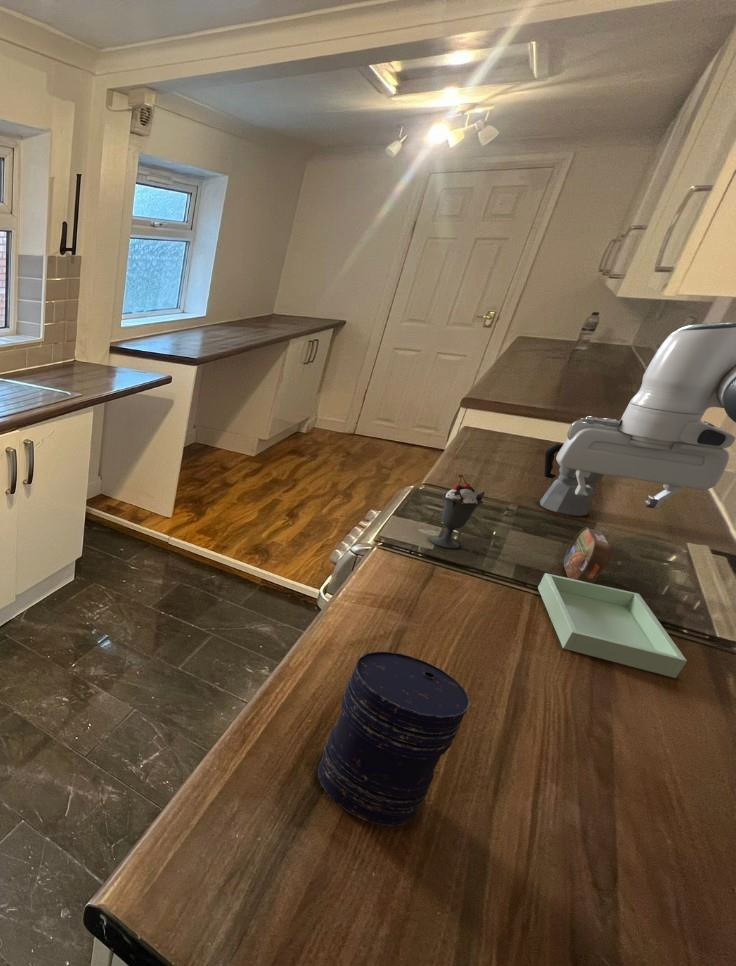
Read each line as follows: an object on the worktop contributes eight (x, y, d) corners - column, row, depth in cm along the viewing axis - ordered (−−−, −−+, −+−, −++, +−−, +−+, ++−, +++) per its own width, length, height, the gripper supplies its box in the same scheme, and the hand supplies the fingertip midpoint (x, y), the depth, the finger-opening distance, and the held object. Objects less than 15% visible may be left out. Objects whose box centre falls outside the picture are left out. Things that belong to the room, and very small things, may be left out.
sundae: (418, 539, 122) (444, 472, 115) (439, 534, 124) (465, 468, 118) (449, 552, 117) (478, 483, 110) (470, 547, 119) (500, 479, 112)
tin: (561, 558, 116) (581, 520, 112) (581, 563, 114) (602, 524, 110) (570, 589, 105) (592, 548, 101) (593, 594, 103) (616, 553, 99)
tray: (630, 608, 99) (639, 593, 98) (675, 678, 83) (687, 661, 81) (537, 587, 105) (545, 572, 104) (562, 648, 88) (572, 632, 87)
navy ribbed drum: (374, 840, 58) (426, 729, 51) (297, 767, 66) (332, 663, 59) (438, 808, 62) (494, 700, 55) (357, 743, 70) (397, 642, 63)
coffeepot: (580, 504, 143) (616, 433, 135) (607, 519, 135) (647, 444, 127) (511, 498, 145) (542, 428, 137) (533, 512, 137) (568, 439, 129)
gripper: (580, 418, 99) (544, 493, 105) (750, 440, 90) (699, 520, 96) (572, 411, 104) (538, 483, 110) (732, 431, 95) (685, 508, 101)
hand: (614, 500), depth 103 cm, fingers open, 8 cm apart
